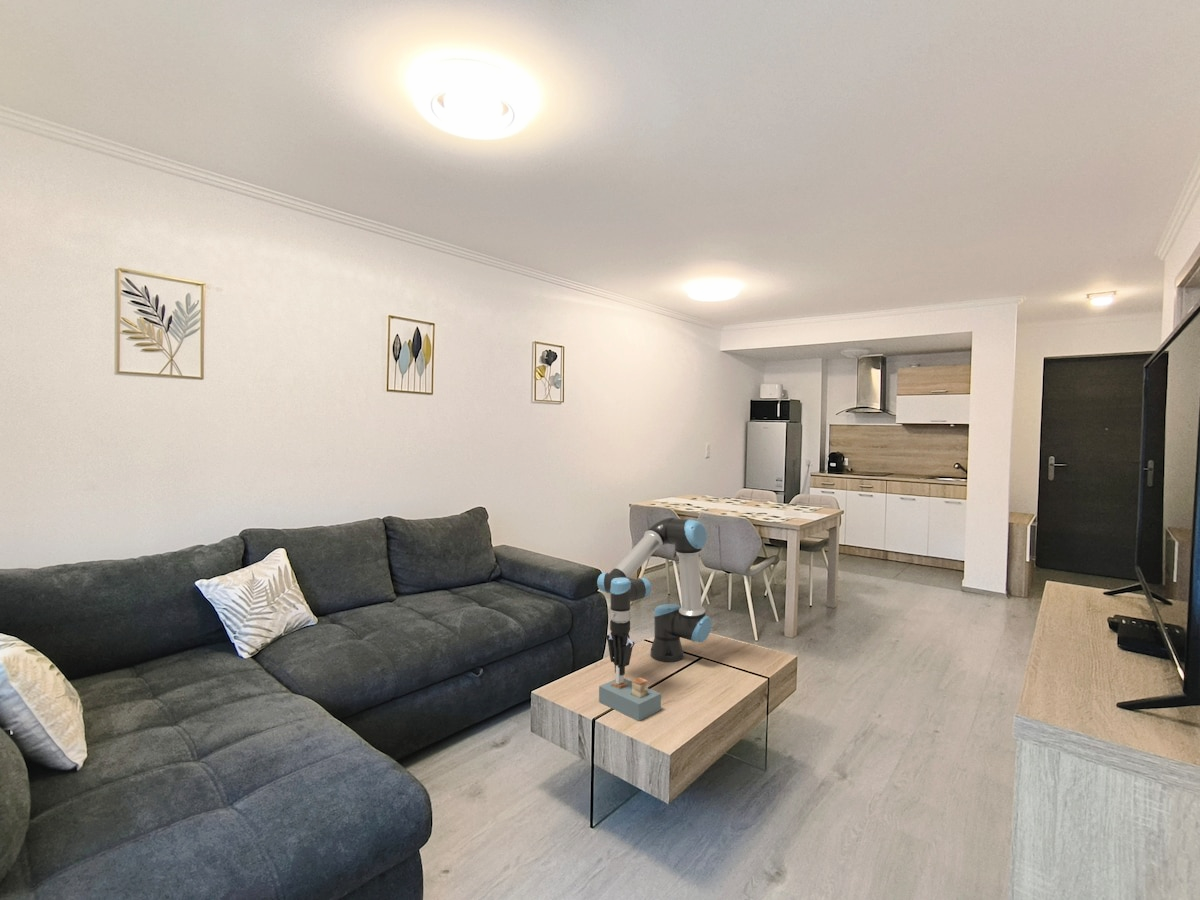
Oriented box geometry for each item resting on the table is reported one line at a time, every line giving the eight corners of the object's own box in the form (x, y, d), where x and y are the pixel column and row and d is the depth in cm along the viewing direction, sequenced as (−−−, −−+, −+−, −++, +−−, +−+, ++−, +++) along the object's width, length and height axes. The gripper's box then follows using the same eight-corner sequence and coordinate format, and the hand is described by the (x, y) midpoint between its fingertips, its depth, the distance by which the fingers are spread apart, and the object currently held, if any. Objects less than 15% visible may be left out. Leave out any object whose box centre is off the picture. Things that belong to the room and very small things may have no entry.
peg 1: (619, 695, 214) (619, 680, 213) (627, 699, 211) (627, 683, 211) (612, 699, 211) (612, 683, 211) (619, 702, 208) (620, 686, 208)
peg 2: (639, 693, 206) (639, 677, 206) (647, 697, 203) (647, 680, 203) (631, 696, 204) (631, 680, 203) (640, 700, 201) (640, 683, 201)
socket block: (621, 692, 218) (621, 677, 218) (660, 710, 204) (660, 693, 204) (599, 702, 210) (599, 686, 210) (638, 721, 196) (638, 704, 196)
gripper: (601, 618, 212) (600, 680, 213) (626, 626, 203) (625, 691, 203) (614, 614, 218) (614, 674, 218) (639, 622, 208) (639, 685, 208)
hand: (619, 682), depth 211 cm, fingers closed
